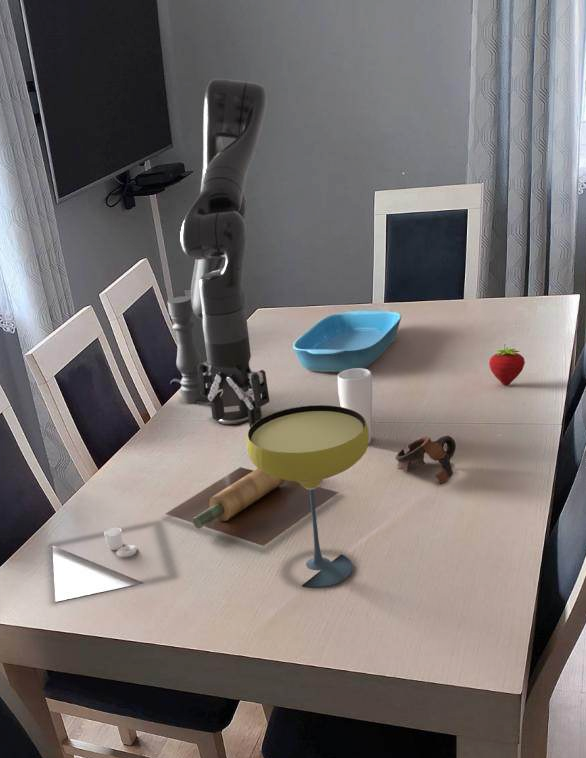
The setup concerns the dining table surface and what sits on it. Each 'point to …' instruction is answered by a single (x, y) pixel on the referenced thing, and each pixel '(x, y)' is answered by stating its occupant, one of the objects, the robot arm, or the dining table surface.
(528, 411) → the dining table surface
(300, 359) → the casserole dish
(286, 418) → the cocktail glass
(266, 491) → the rolling pin
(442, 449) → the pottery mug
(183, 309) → the candle holder
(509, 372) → the strawberry
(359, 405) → the drinking glass
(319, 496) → the pastry board
